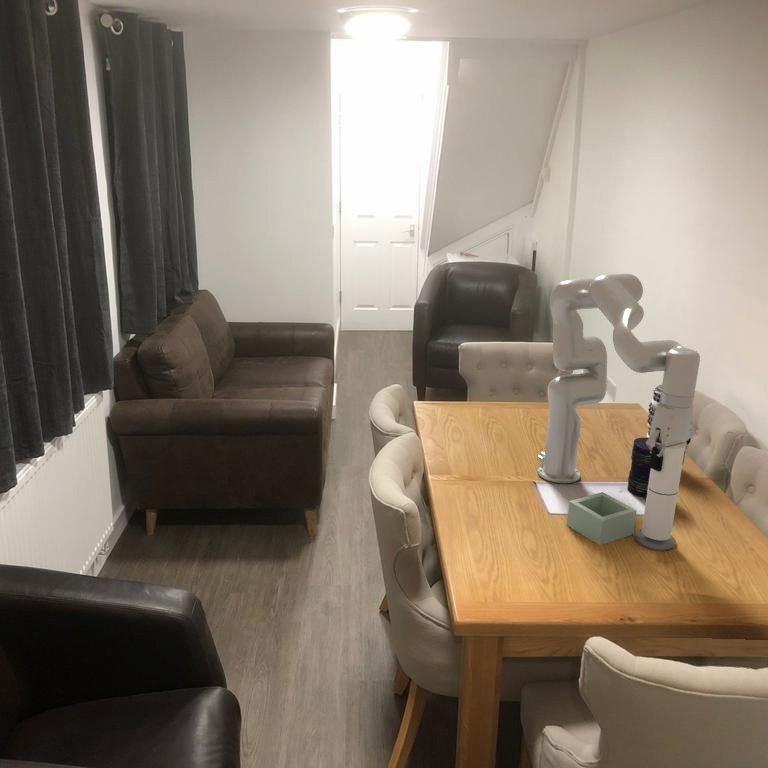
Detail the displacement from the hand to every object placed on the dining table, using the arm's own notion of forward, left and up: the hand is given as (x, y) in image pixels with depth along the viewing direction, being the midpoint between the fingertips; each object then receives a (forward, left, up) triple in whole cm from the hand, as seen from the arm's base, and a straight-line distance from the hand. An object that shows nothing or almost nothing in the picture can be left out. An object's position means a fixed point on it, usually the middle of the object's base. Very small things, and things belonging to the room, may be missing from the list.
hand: (666, 466), depth 195 cm
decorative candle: (-36, +41, -21) cm, 59 cm away
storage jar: (-22, +20, -21) cm, 37 cm away
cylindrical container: (0, 0, -19) cm, 19 cm away
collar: (-11, -9, -21) cm, 25 cm away
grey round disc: (0, 0, -21) cm, 21 cm away
